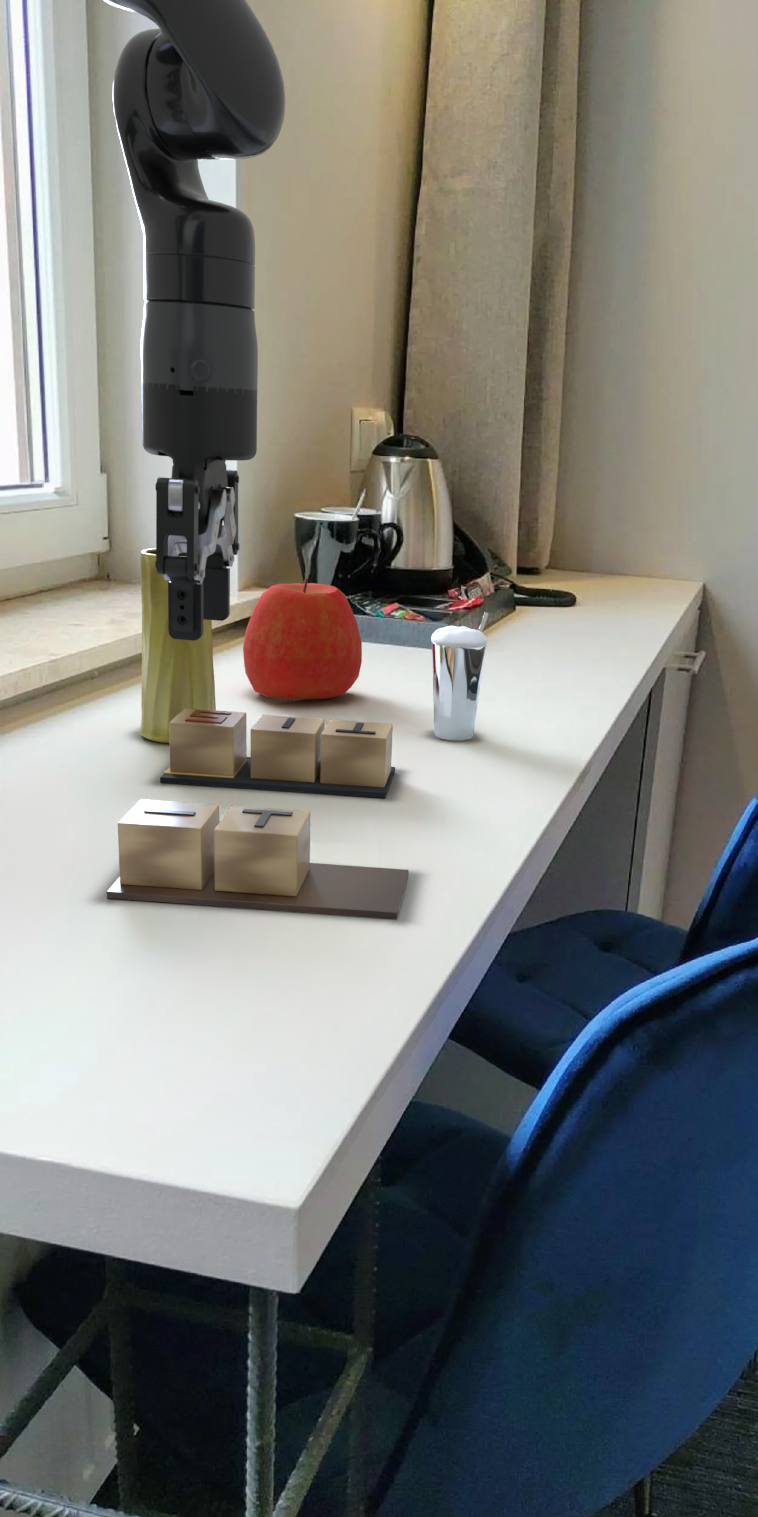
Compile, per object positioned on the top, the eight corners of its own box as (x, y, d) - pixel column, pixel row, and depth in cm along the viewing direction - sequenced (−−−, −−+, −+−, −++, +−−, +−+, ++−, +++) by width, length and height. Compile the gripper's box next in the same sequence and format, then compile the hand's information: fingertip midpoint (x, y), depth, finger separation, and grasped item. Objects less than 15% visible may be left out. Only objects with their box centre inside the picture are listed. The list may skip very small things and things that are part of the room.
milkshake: (498, 737, 112) (507, 617, 108) (453, 745, 108) (460, 622, 105) (460, 725, 115) (467, 608, 111) (415, 734, 111) (420, 613, 107)
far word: (159, 782, 94) (158, 725, 92) (184, 757, 100) (183, 703, 99) (385, 798, 93) (387, 741, 92) (395, 772, 100) (397, 718, 98)
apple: (301, 715, 115) (302, 590, 111) (216, 693, 121) (215, 574, 117) (384, 698, 123) (388, 581, 119) (300, 678, 129) (302, 566, 125)
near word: (106, 898, 73) (103, 827, 71) (141, 856, 79) (139, 790, 78) (397, 919, 72) (400, 848, 71) (408, 875, 79) (411, 809, 77)
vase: (141, 725, 109) (135, 546, 104) (217, 726, 110) (215, 548, 105) (138, 744, 103) (132, 555, 98) (219, 745, 104) (217, 558, 99)
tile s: (169, 771, 95) (168, 721, 94) (185, 755, 99) (184, 706, 98) (233, 776, 95) (233, 725, 93) (246, 759, 99) (246, 710, 98)
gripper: (170, 379, 94) (172, 610, 100) (112, 375, 81) (118, 642, 87) (275, 386, 94) (271, 618, 100) (234, 383, 81) (232, 650, 87)
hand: (200, 628), depth 93 cm, fingers open, 8 cm apart
